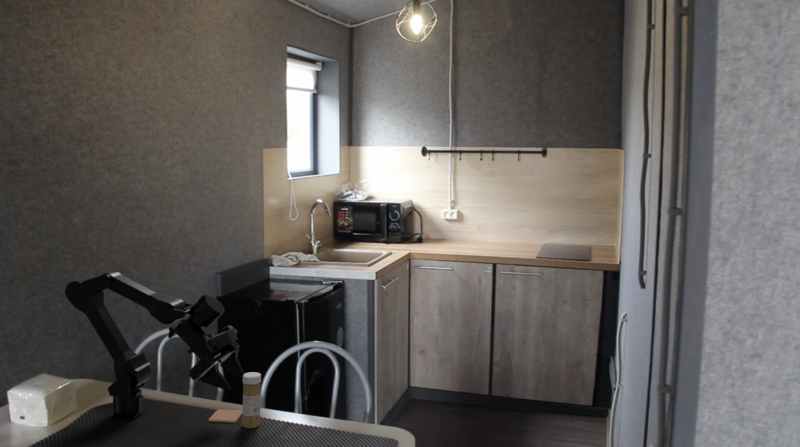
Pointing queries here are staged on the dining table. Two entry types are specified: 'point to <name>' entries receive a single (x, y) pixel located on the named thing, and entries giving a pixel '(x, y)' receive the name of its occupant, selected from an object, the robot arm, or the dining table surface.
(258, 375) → the sprinkles bottle
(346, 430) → the dining table surface
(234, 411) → the tile
